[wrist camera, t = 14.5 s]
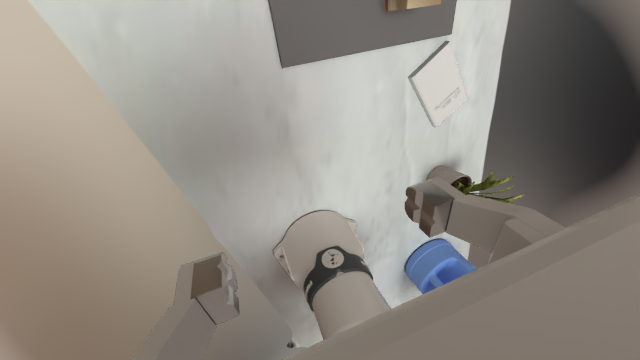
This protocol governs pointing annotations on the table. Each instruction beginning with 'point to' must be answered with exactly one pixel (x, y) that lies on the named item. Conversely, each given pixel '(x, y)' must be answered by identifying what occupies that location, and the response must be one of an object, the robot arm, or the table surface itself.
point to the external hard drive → (439, 84)
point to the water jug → (436, 265)
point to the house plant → (469, 182)
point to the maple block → (408, 4)
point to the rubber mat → (351, 27)
